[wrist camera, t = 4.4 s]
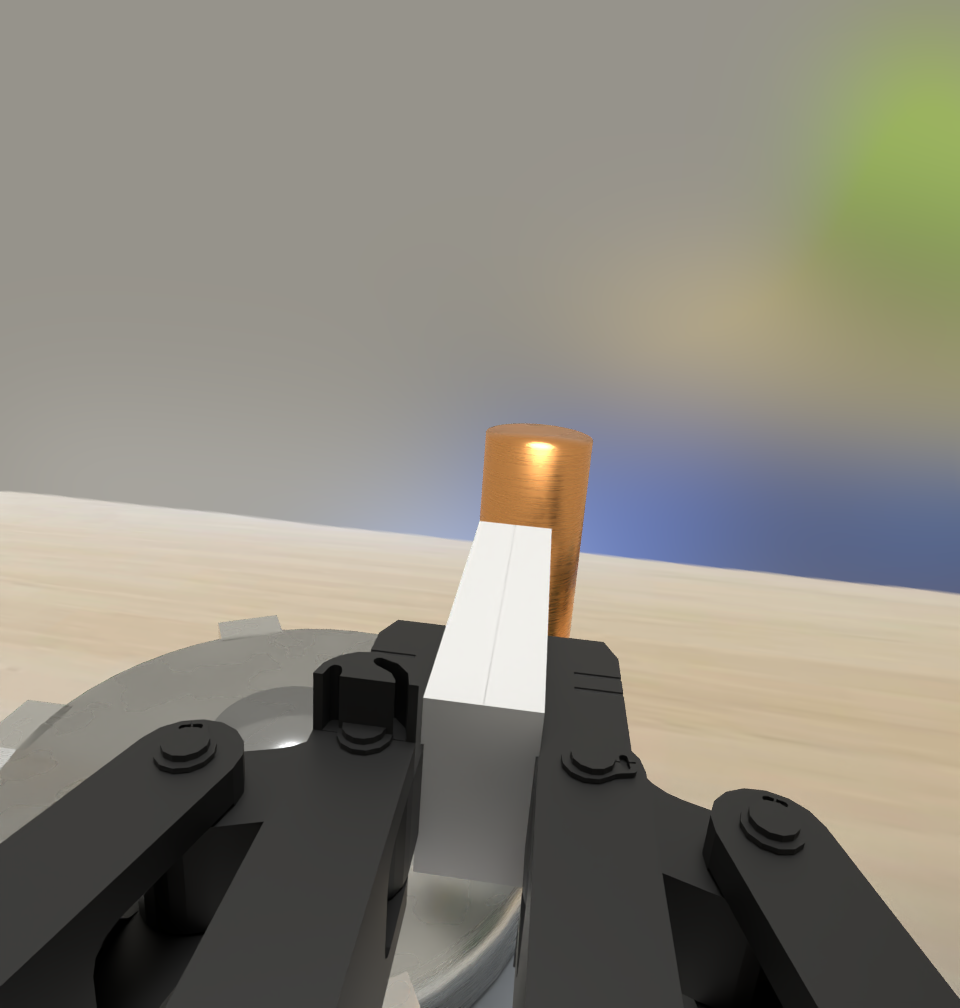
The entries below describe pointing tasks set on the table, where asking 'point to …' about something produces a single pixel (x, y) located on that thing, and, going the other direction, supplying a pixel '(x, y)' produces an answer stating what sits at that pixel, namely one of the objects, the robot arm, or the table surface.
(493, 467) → the lugged metal dome
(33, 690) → the table surface
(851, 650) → the table surface
